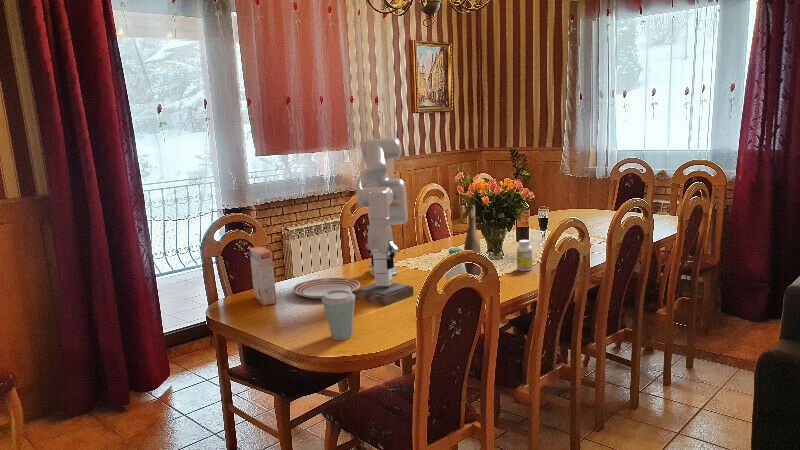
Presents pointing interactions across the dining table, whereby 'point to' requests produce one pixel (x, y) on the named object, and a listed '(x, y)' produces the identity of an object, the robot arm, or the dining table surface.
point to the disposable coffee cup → (339, 312)
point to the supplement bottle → (524, 256)
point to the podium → (384, 293)
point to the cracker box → (263, 275)
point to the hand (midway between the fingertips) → (382, 266)
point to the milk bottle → (456, 269)
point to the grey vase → (472, 243)
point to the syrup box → (381, 269)
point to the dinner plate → (324, 286)
